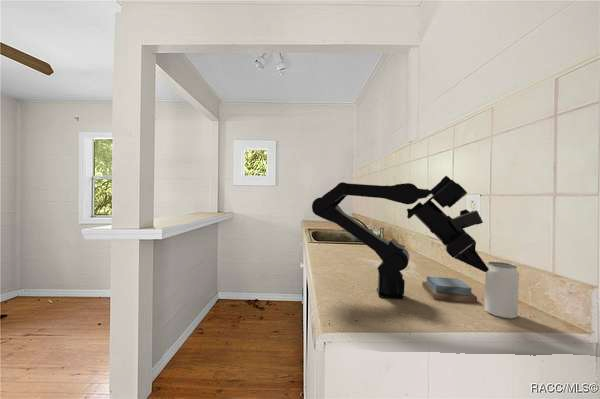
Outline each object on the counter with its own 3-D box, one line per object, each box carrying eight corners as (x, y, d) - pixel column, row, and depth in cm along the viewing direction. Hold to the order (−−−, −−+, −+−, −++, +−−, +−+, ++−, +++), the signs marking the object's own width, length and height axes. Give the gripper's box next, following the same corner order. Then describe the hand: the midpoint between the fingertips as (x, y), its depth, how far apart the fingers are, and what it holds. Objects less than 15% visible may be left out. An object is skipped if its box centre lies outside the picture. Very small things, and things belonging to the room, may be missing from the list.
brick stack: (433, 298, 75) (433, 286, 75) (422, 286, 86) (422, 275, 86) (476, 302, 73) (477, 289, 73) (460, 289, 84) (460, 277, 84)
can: (523, 321, 63) (525, 268, 63) (492, 317, 64) (493, 266, 64) (508, 309, 69) (509, 262, 69) (479, 307, 70) (481, 260, 70)
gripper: (464, 198, 62) (524, 252, 57) (457, 199, 79) (503, 241, 74) (425, 230, 65) (479, 284, 61) (426, 224, 82) (468, 266, 77)
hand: (483, 266), depth 68 cm, fingers open, 9 cm apart
